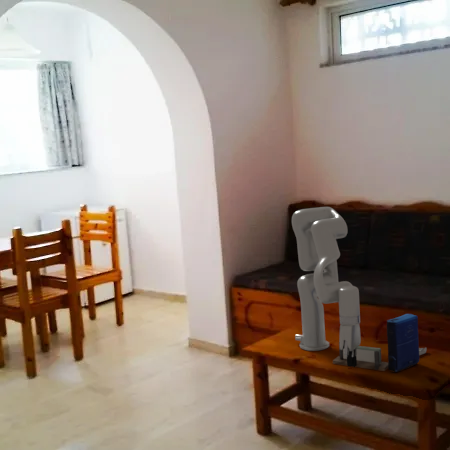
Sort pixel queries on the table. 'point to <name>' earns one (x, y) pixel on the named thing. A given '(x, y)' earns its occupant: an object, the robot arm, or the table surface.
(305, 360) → the table surface
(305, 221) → the robot arm
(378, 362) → the gate frame
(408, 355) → the book
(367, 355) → the panel
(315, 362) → the table surface
